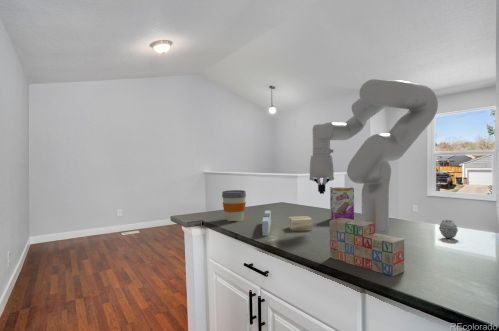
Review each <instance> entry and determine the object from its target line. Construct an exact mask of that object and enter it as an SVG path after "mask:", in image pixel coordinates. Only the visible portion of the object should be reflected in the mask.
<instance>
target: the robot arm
mask: <svg viewBox="0 0 499 331" xmlns="http://www.w3.org/2000/svg"><path fill="white" fill-rule="evenodd" d="M358 92H359V98H357V100H356V101H354V102H353V103H352V105H351V111H352V114H353V116H352V117H350V118H349V119H347V121H345V122H337V121H336V122H334V121H333V122H332V121H331V122H325V123H323V124H322V123H319V124H315V125H313V127H312V155H310V160H309V178H308V179H309V181H312V182H315V183H316V184H317V188H318V189H317V192H318V193H319V194H320V195H324V194H325V192H326V184H328V183H329V182H330V181H334V180H335V177H334V175H335V174H334V173H335V172H334V171H335V169H334V162H333V156H332V155H331V154H332V153H334V149H332V148H331V141H347V140H350V139H351V138H353V137H354V136H356V135H358V134H359V133H360V132H361V131H362V130H363V129H364V128H365V126H366V125H367V121H368V120H369V119H371V118H372V117H374V116H375V115H377V114H378V113H379V112H381V111H382V110H384V109H385V108H388V107H389V108H395V109H403V110H408V111H407V112H406V113H405V114H404V115H403V116H401V117H400V118H399V119H398V120H397V121H396V122H395V124H394V125H393V126H392V128H391V129H390V130H389V131H388V132H386V133H375V134H372V135H371V136H369V137H368V138H367V139H366V140H365V141H364V142H363V143H362V144H361V146H360V148H358V150H357V151H356V152H355V154H354V156H353V157H352V158H351V159H350V161H349V162H348V165H347V169H346V173H347V177H348V178H349V180H350V181H351V182H353V183H355V184H362V189H361V221H365V222H371V223H374V226H375V233H377V234H383V235H387V236H390V208H389V207H390V203H389V201H390V198H389V197H390V196H389V194H390V192H389V191H390V180H391V174H392V168H391V165H390V163H389V162H390V161H391V162H393V161H397V160H400V159H401V158H402V157H403V156H404V154H406V152H407V151H408V150H410V148H411V146H412V145H413V144H414V143H415V142H416V140H417V139H418V138H419V136H421V134H422V133H423V132H424V131H425V130H426V129H427V127H428V126H429V125H430V124H431V123H432V121H433V120H434V118H435V117H436V115H437V111H438V108H439V107H438V106H439V105H438V104H439V102H438V98H437V95H436V93H435V91H433V90H432V88H430V87H429V86H427V85H424V84H421V83H416V82H411V81H405V80H395V79H394V80H390V79H378V78H373V79H372V78H371V79H368V80H367V81H365V82H364V83H362V85H361V87H360V88H359V91H358ZM322 178H323V179H322ZM321 179H322V183H321Z"/></svg>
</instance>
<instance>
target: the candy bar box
mask: <svg viewBox="0 0 499 331" xmlns="http://www.w3.org/2000/svg"><path fill="white" fill-rule="evenodd" d="M354 197H355V188H354V187H353V186H331V187H329V200H330V202H329V205H330V206H329V208H330V210H329V214H330V215H329V218H330V220H334V219H338V218H346V219H352V220H355V198H354Z"/></svg>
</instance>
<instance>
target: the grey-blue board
mask: <svg viewBox="0 0 499 331" xmlns="http://www.w3.org/2000/svg"><path fill="white" fill-rule="evenodd" d="M271 214H272V212H271V210H265V211H264V214H263V218H262V221H261V223H262V224H261V228H262V229H261V232H262V236H265V237H266V236H267V237H269V235H270V231H271V225H272V224H271V223H272V215H271Z"/></svg>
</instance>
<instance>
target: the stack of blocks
mask: <svg viewBox="0 0 499 331" xmlns="http://www.w3.org/2000/svg"><path fill="white" fill-rule="evenodd" d="M328 224H329V230H328V231H329V248H330V249H329V253H330V254H329V255H330V256H329V257H330V258H331V259H335V260H338V261H339V262H340V261H341V262H343V263H347V264H350V265H353V266H356V267H357V266H358V267H361V268H364V269H367V270H371V271H374V272H377V273H379V274H384V275H386V276H390V277H395V276H397V275H399V274H401V273H404V272H405V238H403V237H402V238H401V237H398V236H392V235H389V236H387V235H383V234H377V233H375V226H374V223H371V222H365V221H362V220H359V219H357V220H356V219H354V220H352V219H346V218H338V219H334V220H331V219H330V220H329V223H328Z"/></svg>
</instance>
